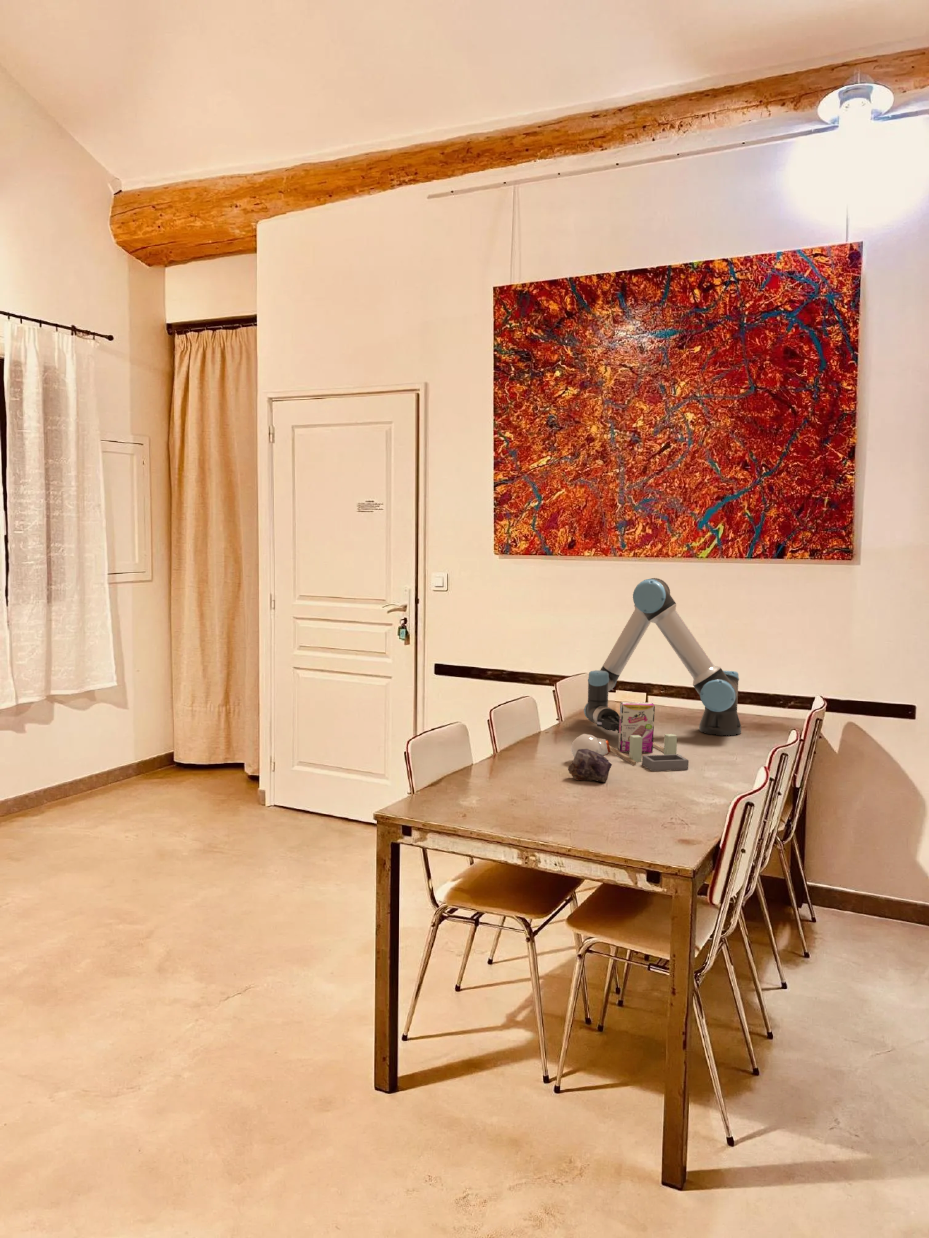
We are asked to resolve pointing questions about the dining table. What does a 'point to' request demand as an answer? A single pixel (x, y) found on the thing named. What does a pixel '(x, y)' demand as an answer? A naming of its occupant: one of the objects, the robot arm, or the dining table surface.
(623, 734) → the candy bar box
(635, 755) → the posts
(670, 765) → the tray
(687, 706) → the dining table surface
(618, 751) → the lane rails
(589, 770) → the rock
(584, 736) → the potion bottle
